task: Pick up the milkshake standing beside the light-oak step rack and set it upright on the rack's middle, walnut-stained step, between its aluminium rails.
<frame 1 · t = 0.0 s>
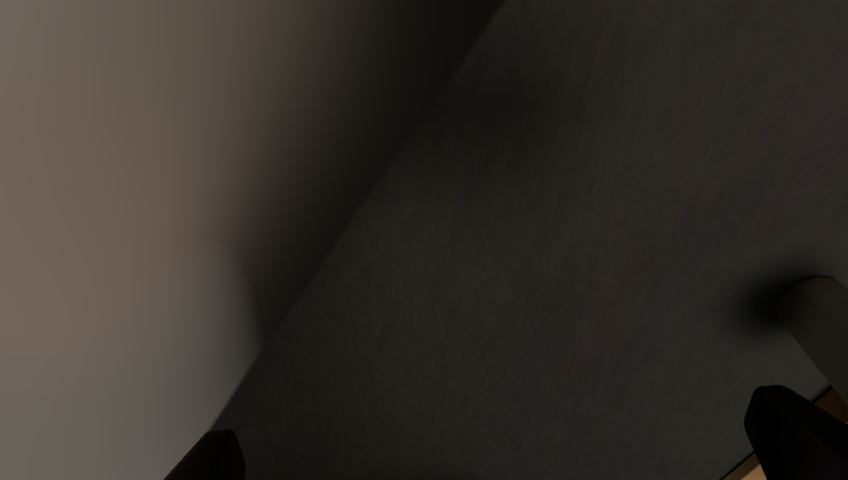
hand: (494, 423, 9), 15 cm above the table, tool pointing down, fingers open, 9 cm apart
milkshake: (797, 298, 27), on the table
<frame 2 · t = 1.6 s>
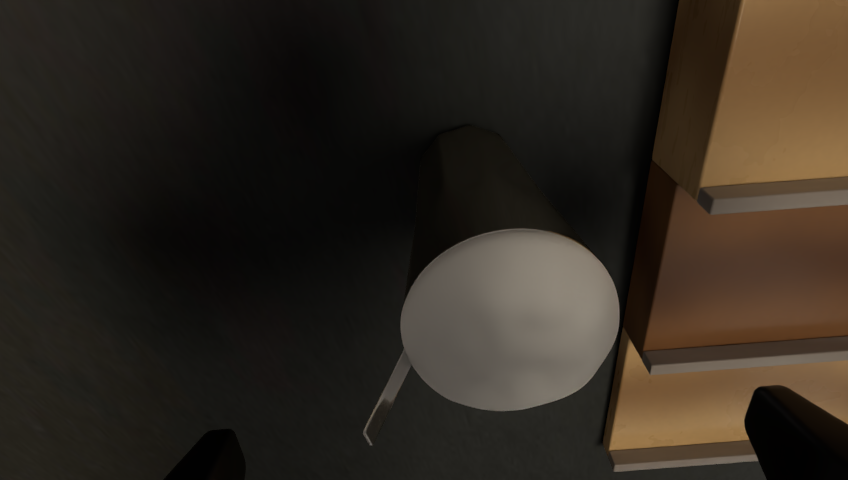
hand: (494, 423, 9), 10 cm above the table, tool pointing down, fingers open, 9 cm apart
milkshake: (454, 171, 18), on the table
rack: (820, 236, 20), on the table
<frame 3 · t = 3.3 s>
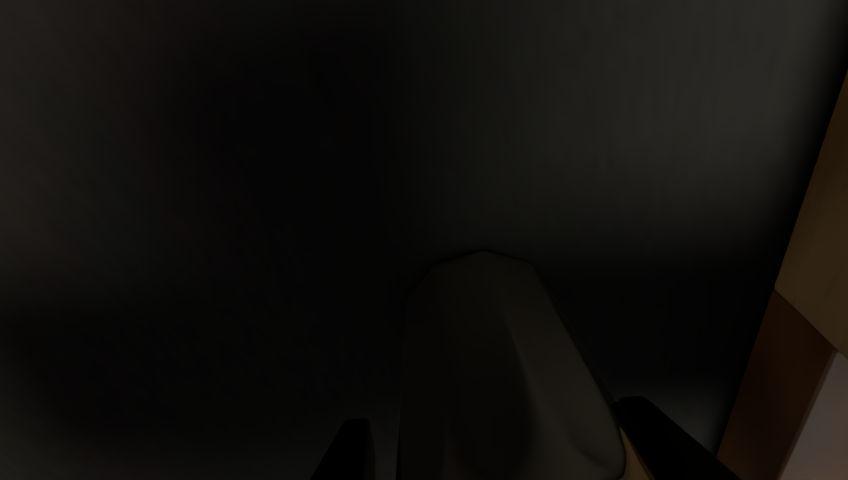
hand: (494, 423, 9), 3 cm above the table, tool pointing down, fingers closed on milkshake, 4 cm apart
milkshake: (458, 311, 12), on the table, touching gripper
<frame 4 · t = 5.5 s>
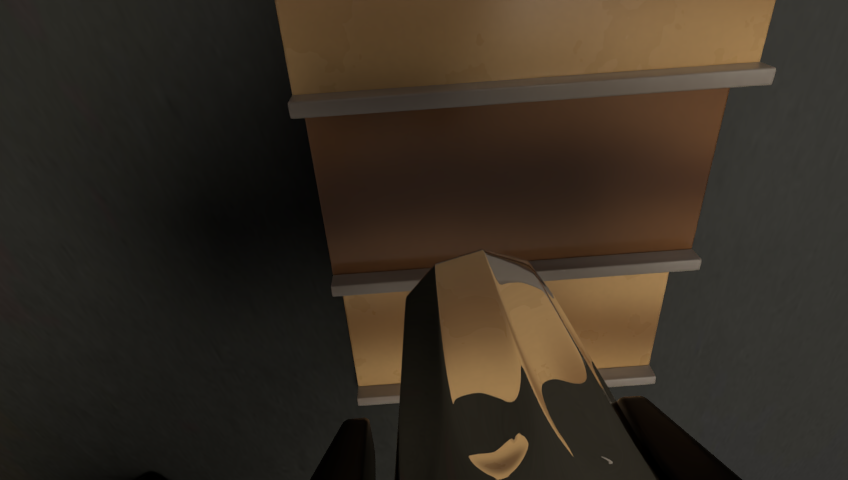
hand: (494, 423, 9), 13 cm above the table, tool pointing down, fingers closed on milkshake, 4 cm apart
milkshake: (458, 310, 12), point 10 cm above the table, touching gripper
rack: (505, 165, 21), on the table
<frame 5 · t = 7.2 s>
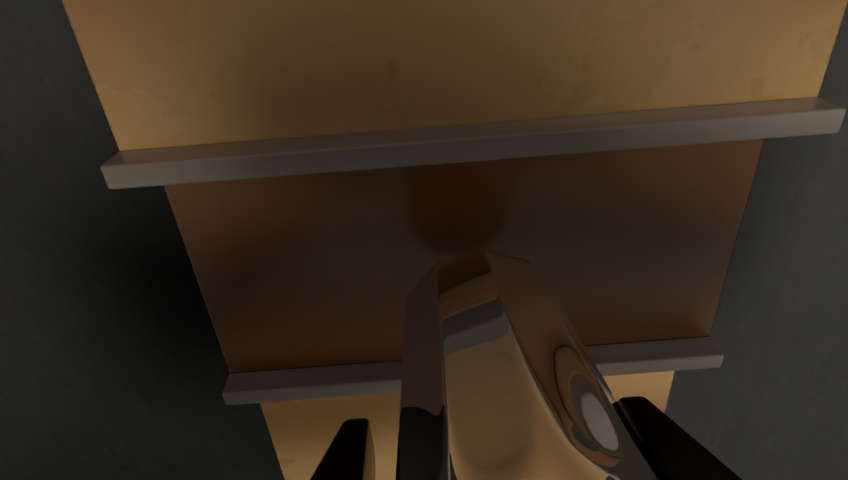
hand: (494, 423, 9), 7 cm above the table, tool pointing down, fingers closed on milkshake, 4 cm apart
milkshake: (458, 310, 12), point 4 cm above the table, touching gripper
rack: (459, 225, 15), on the table
when the fingers open (5 cm above the table, at t = 8.3 s): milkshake stays where it is, resting on rack.
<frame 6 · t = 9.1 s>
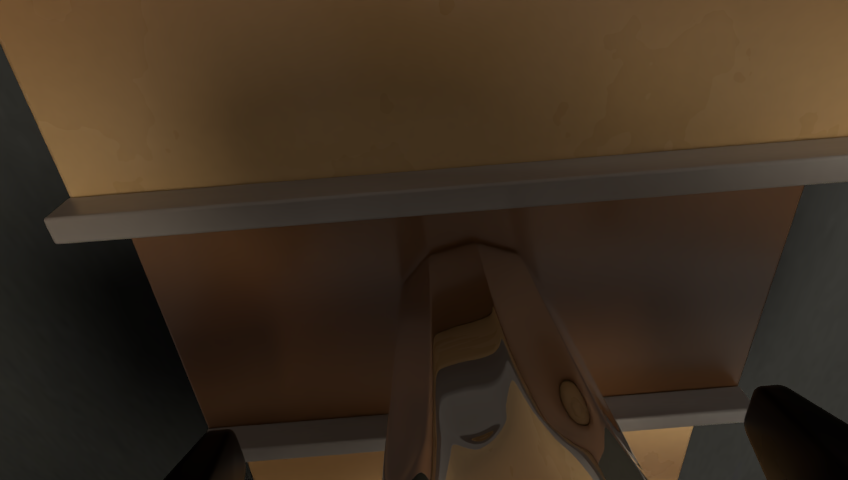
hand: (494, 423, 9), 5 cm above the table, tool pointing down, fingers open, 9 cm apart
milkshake: (452, 301, 12), point 2 cm above the table, touching rack
rack: (462, 263, 14), on the table
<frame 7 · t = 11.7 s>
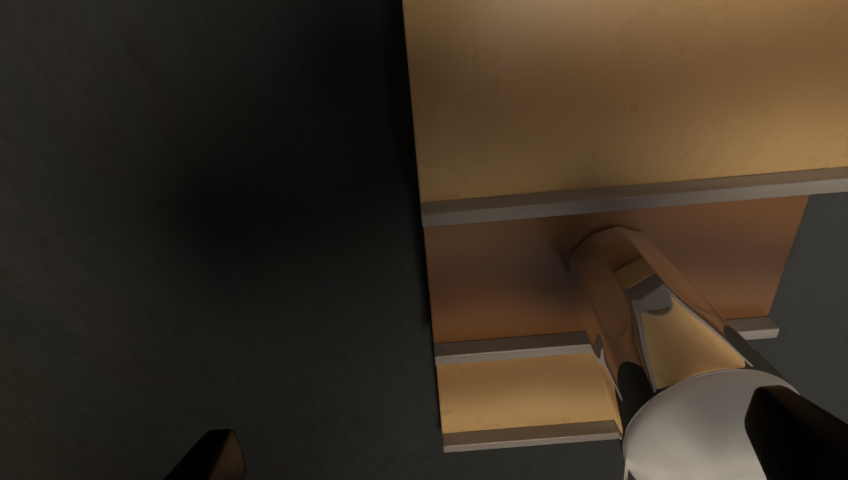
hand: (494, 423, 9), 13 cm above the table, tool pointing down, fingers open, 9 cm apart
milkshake: (597, 261, 21), point 2 cm above the table, touching rack
rack: (593, 240, 22), on the table
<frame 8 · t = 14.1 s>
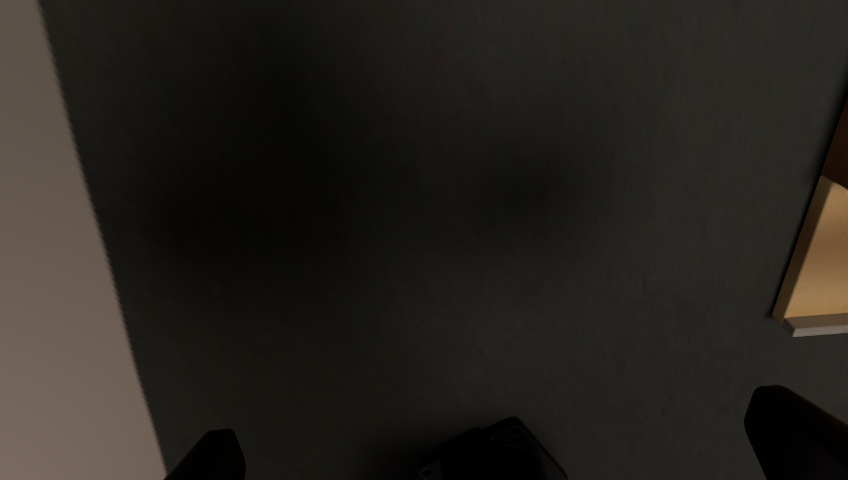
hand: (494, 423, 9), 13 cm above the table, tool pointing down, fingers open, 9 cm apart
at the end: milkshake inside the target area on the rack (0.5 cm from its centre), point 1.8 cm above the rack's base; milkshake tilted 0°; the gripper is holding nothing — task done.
